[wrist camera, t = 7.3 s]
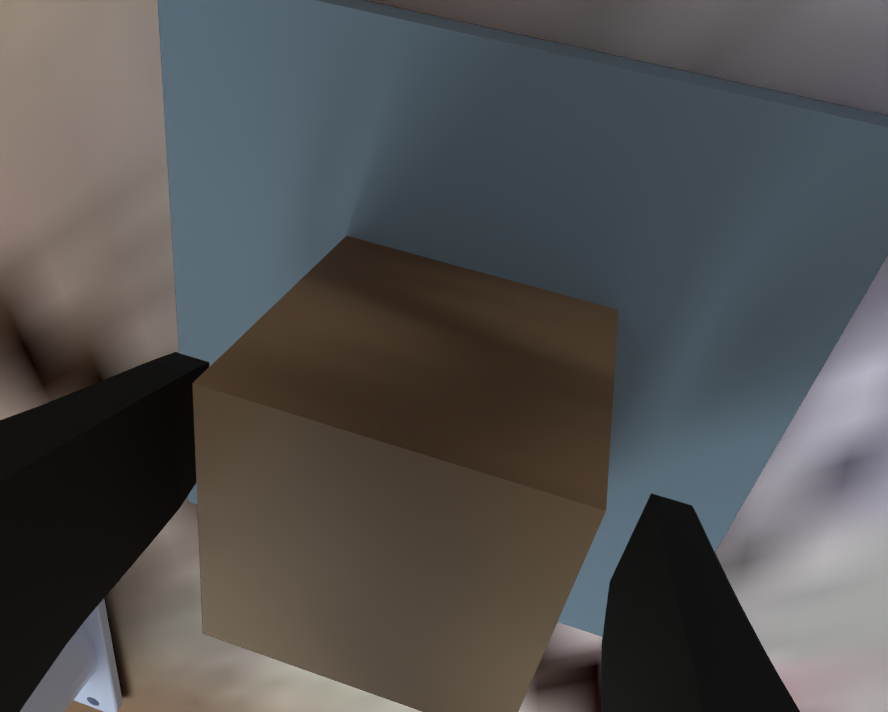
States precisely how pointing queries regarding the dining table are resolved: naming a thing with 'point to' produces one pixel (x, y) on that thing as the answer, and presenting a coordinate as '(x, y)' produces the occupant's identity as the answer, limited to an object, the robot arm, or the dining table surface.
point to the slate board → (534, 214)
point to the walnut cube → (404, 476)
